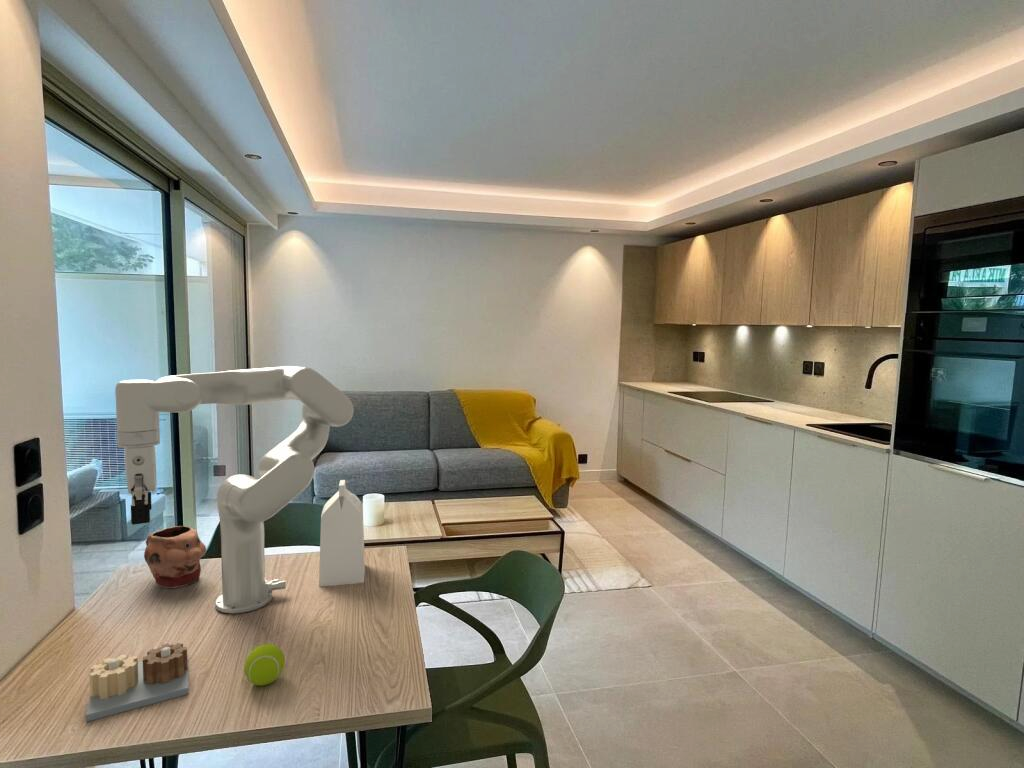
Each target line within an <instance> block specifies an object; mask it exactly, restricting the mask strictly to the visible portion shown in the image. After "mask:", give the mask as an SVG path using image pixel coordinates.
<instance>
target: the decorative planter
mask: <svg viewBox="0 0 1024 768" xmlns="http://www.w3.org/2000/svg"><path fill="white" fill-rule="evenodd" d="M198 534H199V533H198V531H197V530H196V529H194V528H192V527H190V526H186V525H185V526H183V525H179V526H171V527H167V528H163V529H161V530H156V531H154V532H153V533H150V534H148V536H147V537H146V539H145V544H146V547H145V549H144V553H143V558H144V560H145V562H146V564H147V566H148V568H149V571H150V572H151V574H152V577H153V579H154V580H155V583H156V585H157V586H159V587H161V588H166V589H175V588H180V587H181V588H182V587H186V586H187V585H188V586H189V585H190V584H193V583H194V582H196V581H197V580H199V579H200V575H201V570H202V569H201V562H200V561H201V558H203V557H204V556H205V555H206V553H207V547H206V545H205V543H204V542H203V541H202V540H201V539H200V537H199V535H198Z"/></svg>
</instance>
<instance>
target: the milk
mask: <svg viewBox="0 0 1024 768" xmlns="http://www.w3.org/2000/svg"><path fill="white" fill-rule="evenodd" d="M346 485H347V484H346V479H340V480H339V484H338V491H337V492H335V494H334V495H332V497H330V498H329V499H328V500H327V502H326V503H325V504H324V505H323V507H322V512H321V514H320V515H321V516H320V517H321V518H320V539H319V540H320V541H319V542H320V543H319V566H318V567H319V571H318V572H319V574H318V587H328V586H341V585H351V584H352V585H355V584H364V583H365V571H366V569H365V567H366V561H365V559H366V558H365V556H366V555H365V534H364V533H365V532H364V529H365V528H364V508H363V502H362V501H361V500H360V498H359V497H358V496H357V494H355V493H353V492H351V491H350V490H349V489H348V488H347V486H346Z"/></svg>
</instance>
